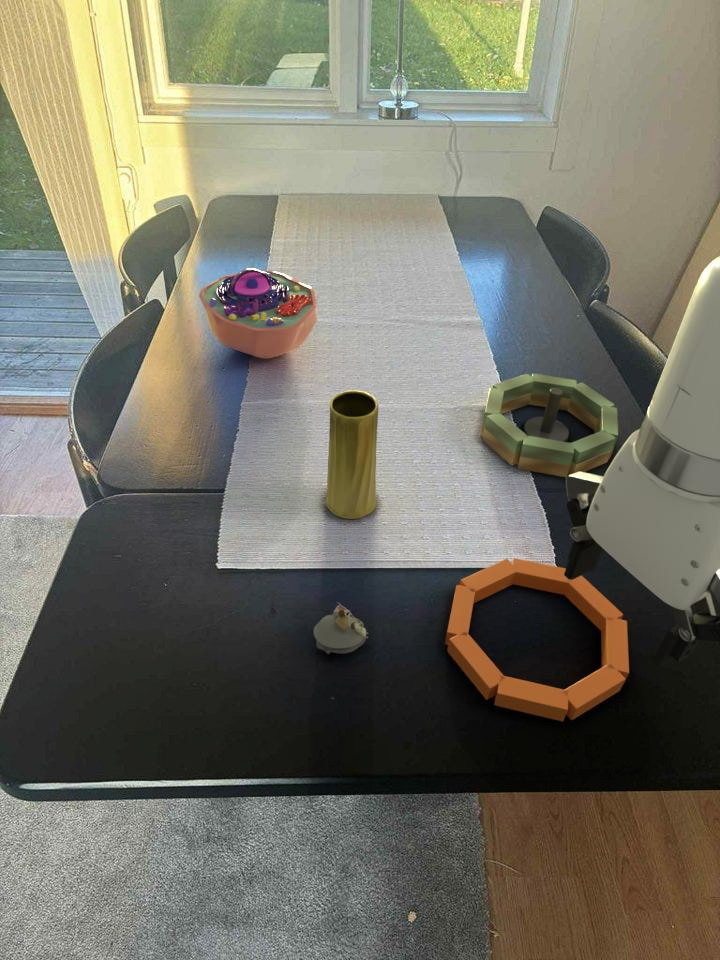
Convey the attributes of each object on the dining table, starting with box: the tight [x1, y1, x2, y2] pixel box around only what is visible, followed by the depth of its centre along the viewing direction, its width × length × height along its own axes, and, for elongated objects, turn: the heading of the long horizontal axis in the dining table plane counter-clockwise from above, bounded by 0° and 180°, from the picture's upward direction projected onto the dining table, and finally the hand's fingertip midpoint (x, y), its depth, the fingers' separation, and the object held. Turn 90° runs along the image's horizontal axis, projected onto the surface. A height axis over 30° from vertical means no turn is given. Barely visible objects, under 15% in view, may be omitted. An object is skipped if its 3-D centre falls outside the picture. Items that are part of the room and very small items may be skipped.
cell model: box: [198, 267, 319, 360], centre depth 107 cm, size 17×20×11 cm
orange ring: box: [444, 558, 630, 722], centre depth 69 cm, size 17×17×2 cm
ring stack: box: [480, 373, 619, 478], centre depth 93 cm, size 17×17×7 cm
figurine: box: [313, 602, 369, 655], centre depth 66 cm, size 5×4×6 cm
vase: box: [325, 390, 379, 520], centre depth 79 cm, size 6×6×14 cm
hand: (621, 612), depth 57 cm, fingers open, 9 cm apart
